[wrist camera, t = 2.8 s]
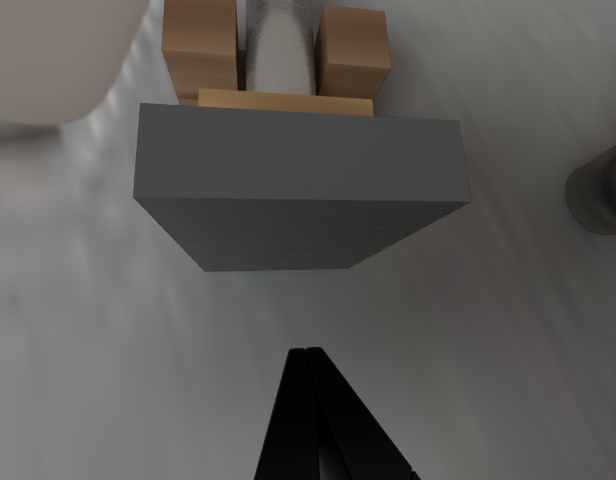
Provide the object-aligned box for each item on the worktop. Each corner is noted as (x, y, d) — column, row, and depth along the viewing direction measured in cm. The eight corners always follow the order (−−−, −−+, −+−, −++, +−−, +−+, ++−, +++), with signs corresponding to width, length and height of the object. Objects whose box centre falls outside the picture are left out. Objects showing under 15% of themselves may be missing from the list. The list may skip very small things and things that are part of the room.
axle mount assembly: (348, 268, 17) (471, 201, 7) (204, 271, 16) (132, 196, 6) (331, 44, 20) (404, -208, 11) (210, 33, 19) (168, -262, 9)
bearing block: (356, 131, 19) (391, 68, 15) (185, 122, 18) (161, 49, 13) (352, 85, 20) (384, 11, 15) (188, 73, 18) (165, -13, 14)
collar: (335, 206, 17) (377, 150, 12) (216, 205, 16) (196, 143, 11) (333, 170, 18) (372, 99, 12) (216, 167, 17) (198, 88, 11)
